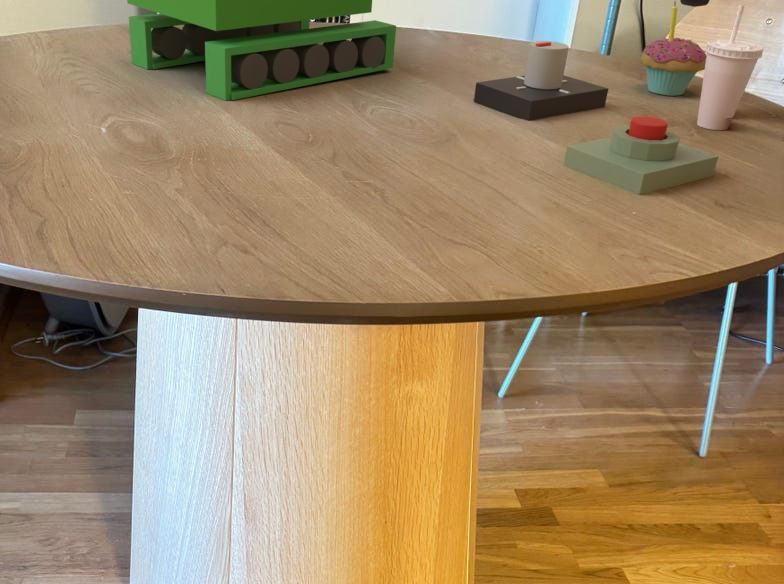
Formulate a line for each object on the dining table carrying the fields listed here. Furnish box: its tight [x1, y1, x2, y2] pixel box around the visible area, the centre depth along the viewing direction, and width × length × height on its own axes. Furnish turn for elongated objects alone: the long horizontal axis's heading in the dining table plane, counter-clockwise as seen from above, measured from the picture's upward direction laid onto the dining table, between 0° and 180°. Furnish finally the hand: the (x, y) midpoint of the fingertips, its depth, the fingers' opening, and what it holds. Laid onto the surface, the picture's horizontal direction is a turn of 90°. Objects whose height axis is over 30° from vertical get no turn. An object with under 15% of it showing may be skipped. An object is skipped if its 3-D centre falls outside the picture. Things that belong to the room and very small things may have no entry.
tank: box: [126, 0, 397, 101], centre depth 124 cm, size 24×35×16 cm
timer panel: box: [473, 74, 609, 122], centre depth 114 cm, size 14×10×3 cm
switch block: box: [563, 124, 719, 196], centre depth 92 cm, size 12×10×4 cm
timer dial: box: [524, 40, 569, 90], centre depth 112 cm, size 5×5×5 cm
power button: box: [628, 115, 669, 140], centre depth 91 cm, size 4×4×2 cm
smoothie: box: [696, 4, 765, 131], centre depth 106 cm, size 6×6×14 cm
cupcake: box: [640, 0, 707, 97], centre depth 120 cm, size 9×8×12 cm
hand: (693, 4), depth 85 cm, fingers closed
